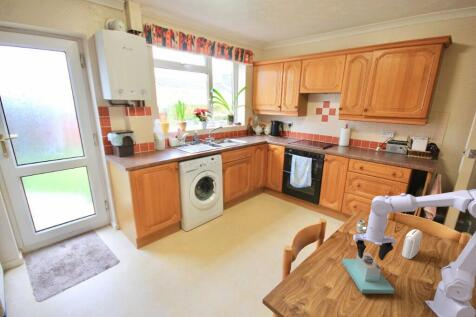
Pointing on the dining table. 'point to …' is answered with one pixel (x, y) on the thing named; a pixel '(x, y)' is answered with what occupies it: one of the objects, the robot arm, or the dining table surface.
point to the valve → (361, 226)
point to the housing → (368, 267)
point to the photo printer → (411, 244)
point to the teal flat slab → (367, 286)
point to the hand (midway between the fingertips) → (370, 257)
